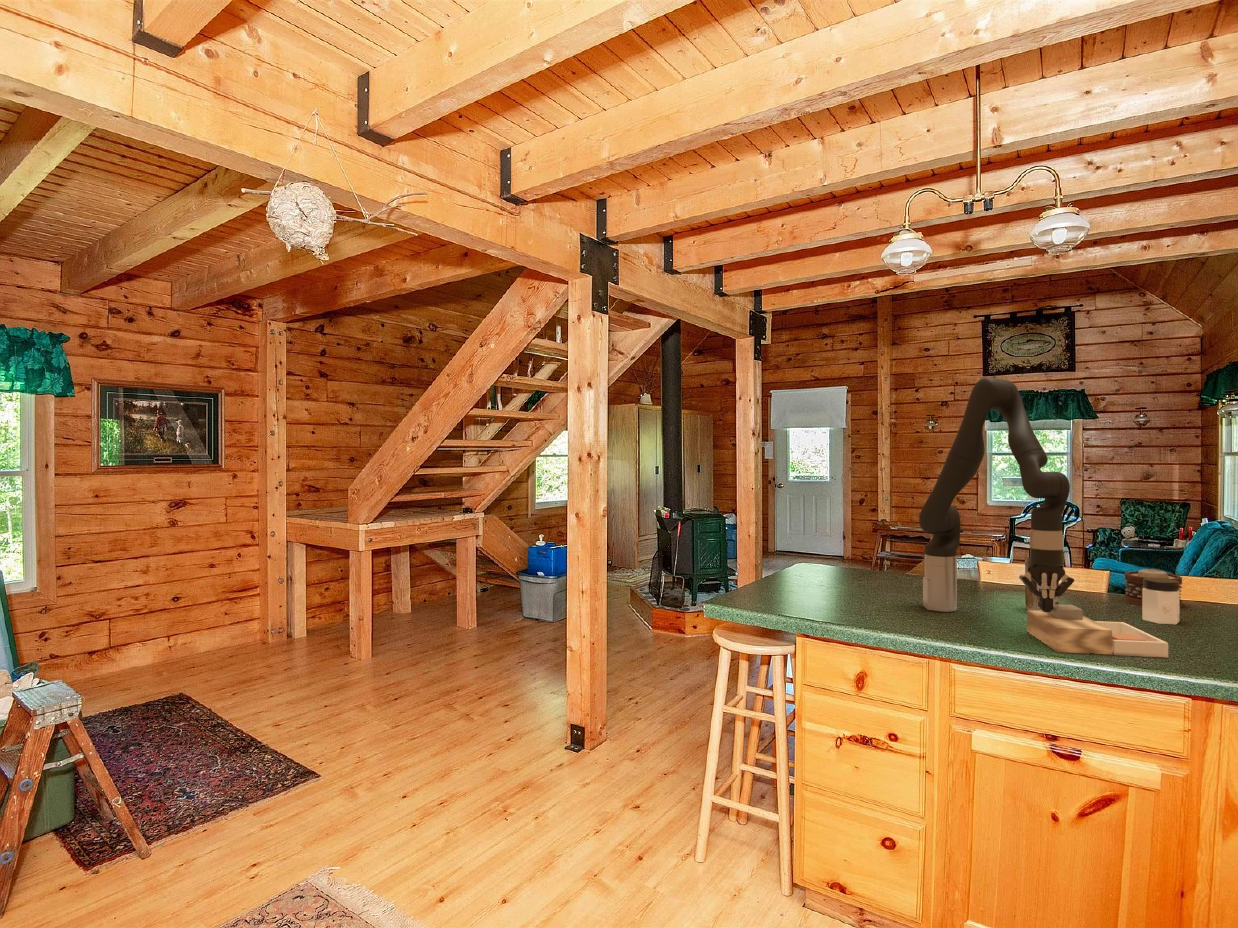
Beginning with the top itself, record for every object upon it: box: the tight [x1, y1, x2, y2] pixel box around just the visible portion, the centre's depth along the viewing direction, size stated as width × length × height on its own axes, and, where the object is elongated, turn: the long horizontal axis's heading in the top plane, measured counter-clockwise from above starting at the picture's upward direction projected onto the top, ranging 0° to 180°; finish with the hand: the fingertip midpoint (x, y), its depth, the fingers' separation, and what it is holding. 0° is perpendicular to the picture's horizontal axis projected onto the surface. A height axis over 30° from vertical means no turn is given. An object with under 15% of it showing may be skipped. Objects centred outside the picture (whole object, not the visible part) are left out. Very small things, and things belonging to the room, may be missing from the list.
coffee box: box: [1024, 558, 1060, 611], centre depth 206 cm, size 9×6×16 cm
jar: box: [1141, 578, 1181, 626], centre depth 194 cm, size 9×8×12 cm
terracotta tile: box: [1112, 633, 1145, 641], centre depth 168 cm, size 6×6×2 cm
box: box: [1094, 620, 1169, 659], centre depth 171 cm, size 11×20×4 cm, turn 168°
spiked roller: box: [1124, 568, 1184, 609], centre depth 215 cm, size 15×11×15 cm
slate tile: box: [1048, 603, 1084, 620], centre depth 176 cm, size 6×6×2 cm
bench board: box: [1026, 609, 1113, 655], centre depth 173 cm, size 12×19×6 cm, turn 168°
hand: (1046, 611), depth 177 cm, fingers closed
